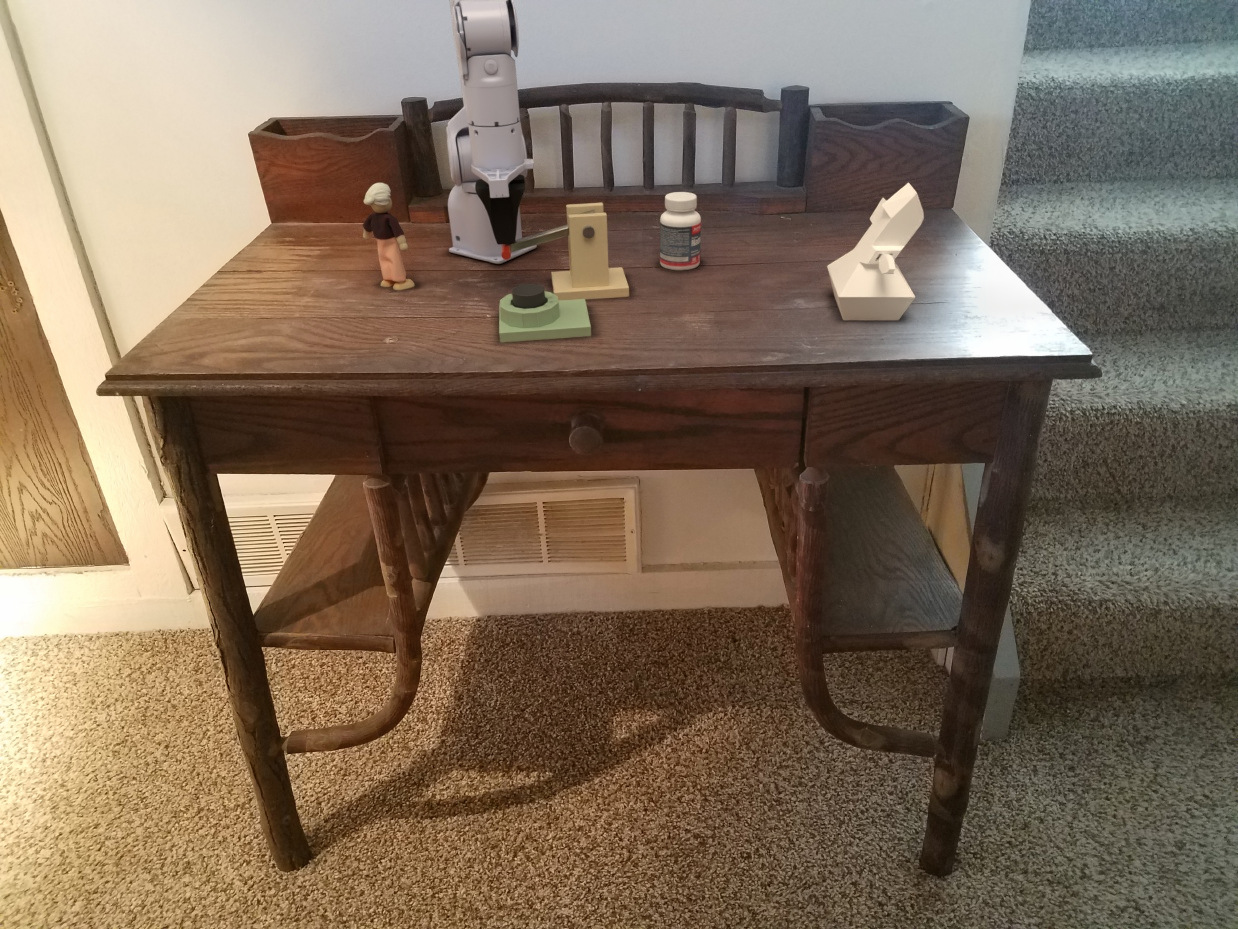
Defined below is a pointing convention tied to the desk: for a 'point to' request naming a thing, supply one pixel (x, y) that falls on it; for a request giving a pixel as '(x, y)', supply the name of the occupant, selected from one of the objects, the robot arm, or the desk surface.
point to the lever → (536, 239)
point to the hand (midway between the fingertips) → (506, 242)
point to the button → (528, 296)
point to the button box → (543, 320)
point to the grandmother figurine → (386, 237)
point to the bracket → (588, 258)
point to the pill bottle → (680, 232)
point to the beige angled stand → (878, 262)
